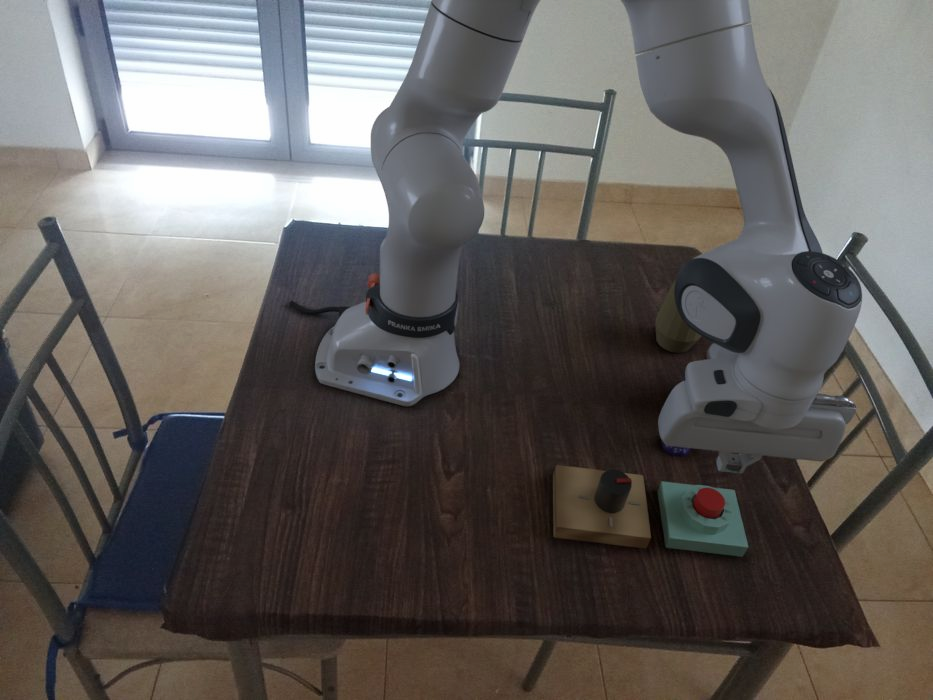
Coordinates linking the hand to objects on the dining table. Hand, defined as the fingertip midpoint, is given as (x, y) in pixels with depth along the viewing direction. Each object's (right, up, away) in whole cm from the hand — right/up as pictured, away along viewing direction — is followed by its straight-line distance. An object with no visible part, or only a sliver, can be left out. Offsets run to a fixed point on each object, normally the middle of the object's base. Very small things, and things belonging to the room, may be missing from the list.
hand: (728, 468), depth 88 cm
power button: (-1, -6, +5) cm, 8 cm away
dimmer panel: (-15, -7, +7) cm, 18 cm away
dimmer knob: (-14, -5, +6) cm, 16 cm away
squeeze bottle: (+3, +16, +35) cm, 38 cm away
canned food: (+6, +5, +24) cm, 25 cm away
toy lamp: (-2, 0, +17) cm, 17 cm away
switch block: (-1, -9, +7) cm, 11 cm away
